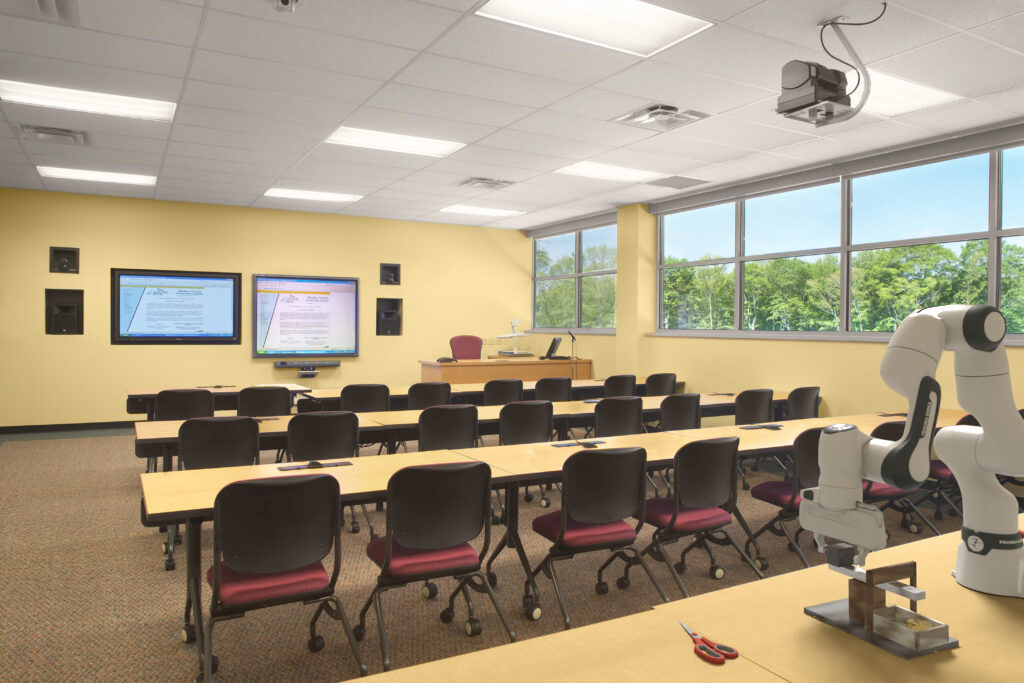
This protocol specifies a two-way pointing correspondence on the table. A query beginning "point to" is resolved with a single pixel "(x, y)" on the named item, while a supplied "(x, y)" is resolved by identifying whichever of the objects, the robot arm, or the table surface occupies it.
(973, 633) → the table surface
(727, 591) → the table surface
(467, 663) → the table surface
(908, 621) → the brass spacer
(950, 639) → the shaft stand
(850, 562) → the steel shaft
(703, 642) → the scissors
